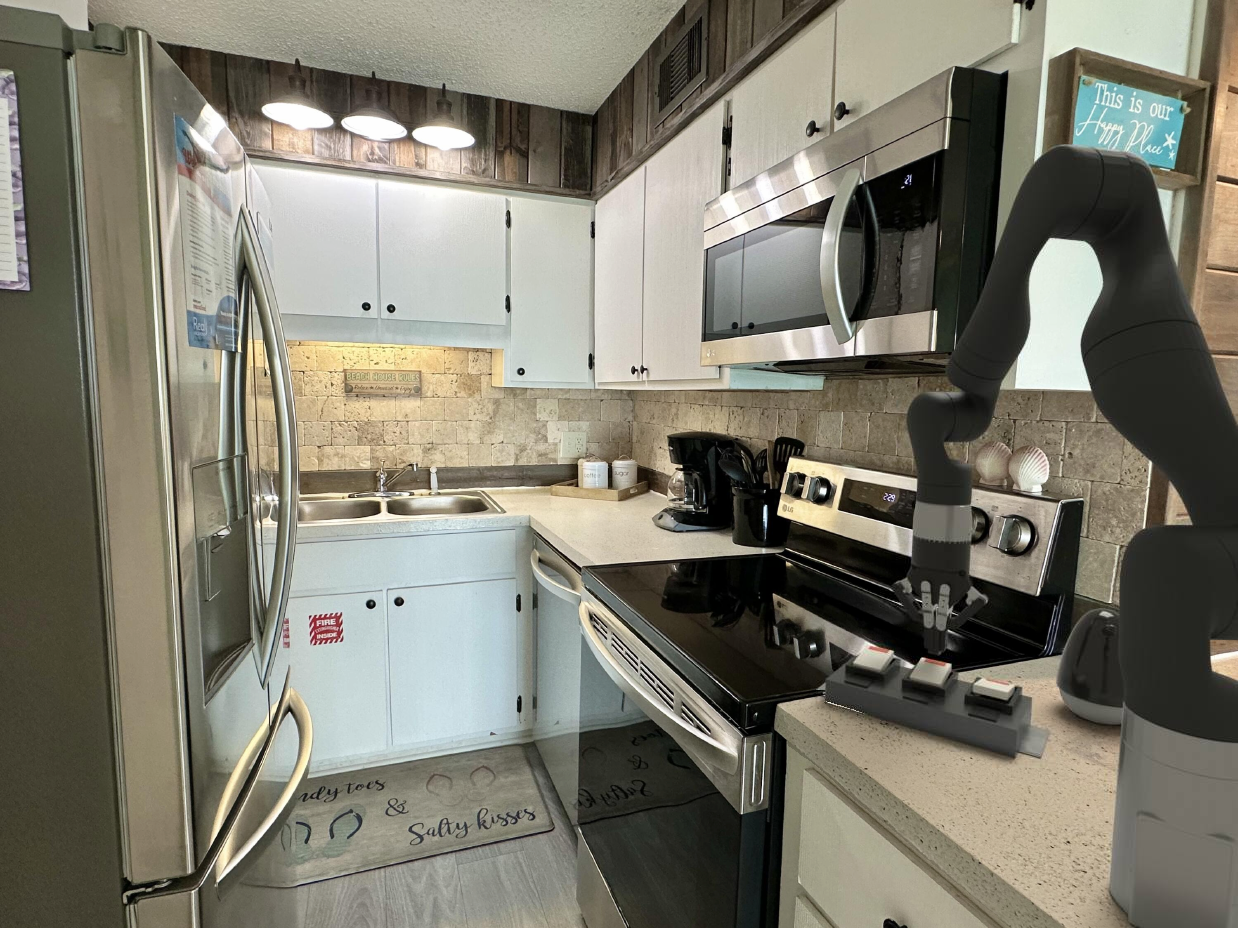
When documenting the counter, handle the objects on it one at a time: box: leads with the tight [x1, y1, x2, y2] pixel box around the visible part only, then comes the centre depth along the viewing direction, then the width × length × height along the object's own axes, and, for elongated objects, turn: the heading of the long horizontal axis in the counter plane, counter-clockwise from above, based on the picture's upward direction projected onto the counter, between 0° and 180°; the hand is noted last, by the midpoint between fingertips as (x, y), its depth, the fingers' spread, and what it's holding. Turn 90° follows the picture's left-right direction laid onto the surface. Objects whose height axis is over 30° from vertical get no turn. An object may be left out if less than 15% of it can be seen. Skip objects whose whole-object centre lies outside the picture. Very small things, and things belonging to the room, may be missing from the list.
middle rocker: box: [910, 657, 952, 687], centre depth 97 cm, size 6×4×1 cm, turn 141°
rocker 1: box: [853, 644, 895, 672], centre depth 102 cm, size 6×4×1 cm, turn 141°
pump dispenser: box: [1055, 607, 1124, 726], centre depth 94 cm, size 10×10×15 cm
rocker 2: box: [973, 677, 1016, 700], centre depth 92 cm, size 6×4×1 cm, turn 141°
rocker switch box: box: [816, 653, 1051, 759], centre depth 95 cm, size 12×29×5 cm, turn 51°
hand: (935, 652), depth 98 cm, fingers closed
